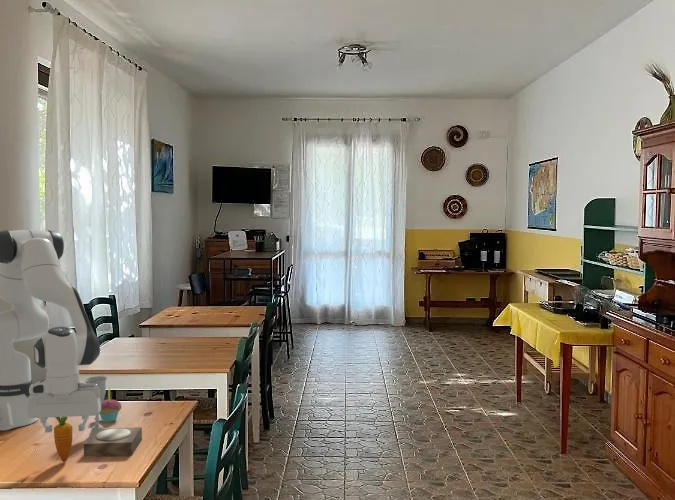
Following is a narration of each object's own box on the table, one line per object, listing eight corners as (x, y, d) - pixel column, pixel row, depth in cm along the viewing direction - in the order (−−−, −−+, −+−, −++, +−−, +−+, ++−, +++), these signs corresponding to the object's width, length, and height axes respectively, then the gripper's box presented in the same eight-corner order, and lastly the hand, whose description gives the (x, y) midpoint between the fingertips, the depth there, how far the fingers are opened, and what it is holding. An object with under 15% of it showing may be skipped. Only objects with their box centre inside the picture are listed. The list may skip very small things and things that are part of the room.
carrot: (55, 466, 198) (53, 415, 197) (55, 460, 203) (52, 410, 202) (74, 463, 200) (72, 412, 199) (73, 458, 205) (71, 408, 204)
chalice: (101, 437, 223) (99, 382, 222) (82, 436, 225) (79, 381, 224) (112, 430, 230) (111, 376, 229) (94, 429, 232) (92, 375, 231)
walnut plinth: (83, 457, 206) (83, 442, 206) (97, 441, 220) (96, 427, 219) (131, 455, 207) (131, 440, 206) (142, 439, 221) (141, 425, 220)
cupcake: (124, 420, 240) (123, 386, 240) (99, 425, 236) (98, 390, 235) (117, 414, 247) (116, 381, 247) (93, 419, 243) (91, 385, 242)
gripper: (102, 380, 204) (104, 426, 205) (31, 382, 202) (33, 429, 203) (97, 385, 198) (99, 433, 198) (23, 388, 196) (25, 436, 197)
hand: (65, 431), depth 201 cm, fingers open, 8 cm apart
